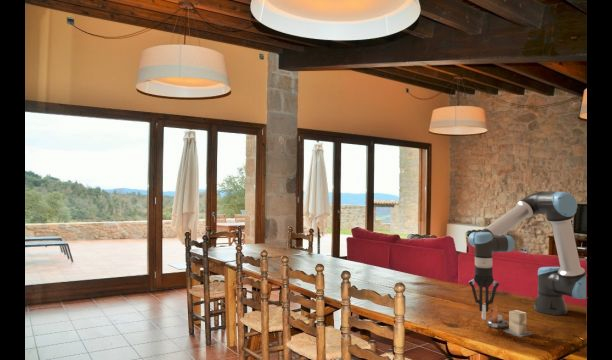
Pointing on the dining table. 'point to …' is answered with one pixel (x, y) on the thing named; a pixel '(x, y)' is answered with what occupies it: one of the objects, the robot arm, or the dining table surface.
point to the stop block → (517, 322)
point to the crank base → (500, 326)
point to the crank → (495, 317)
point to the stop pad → (517, 334)
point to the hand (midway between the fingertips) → (483, 318)
